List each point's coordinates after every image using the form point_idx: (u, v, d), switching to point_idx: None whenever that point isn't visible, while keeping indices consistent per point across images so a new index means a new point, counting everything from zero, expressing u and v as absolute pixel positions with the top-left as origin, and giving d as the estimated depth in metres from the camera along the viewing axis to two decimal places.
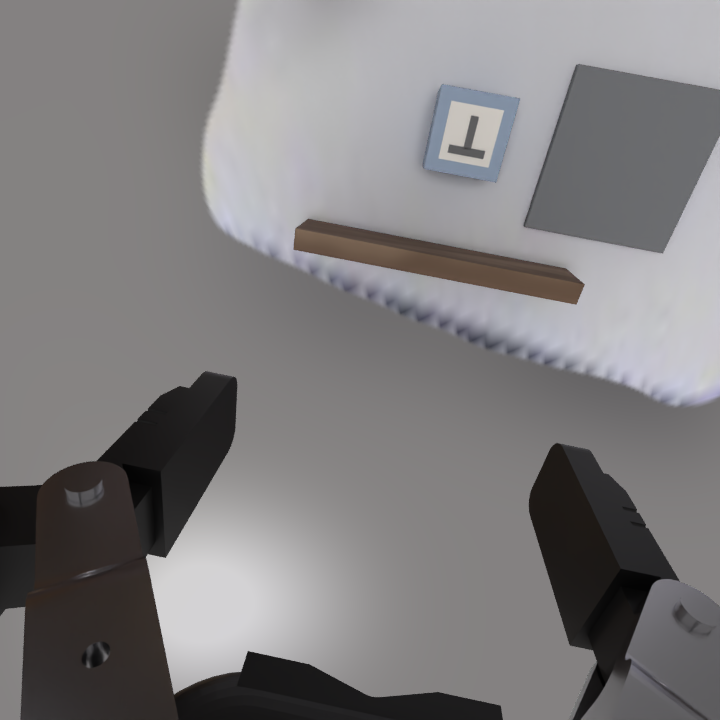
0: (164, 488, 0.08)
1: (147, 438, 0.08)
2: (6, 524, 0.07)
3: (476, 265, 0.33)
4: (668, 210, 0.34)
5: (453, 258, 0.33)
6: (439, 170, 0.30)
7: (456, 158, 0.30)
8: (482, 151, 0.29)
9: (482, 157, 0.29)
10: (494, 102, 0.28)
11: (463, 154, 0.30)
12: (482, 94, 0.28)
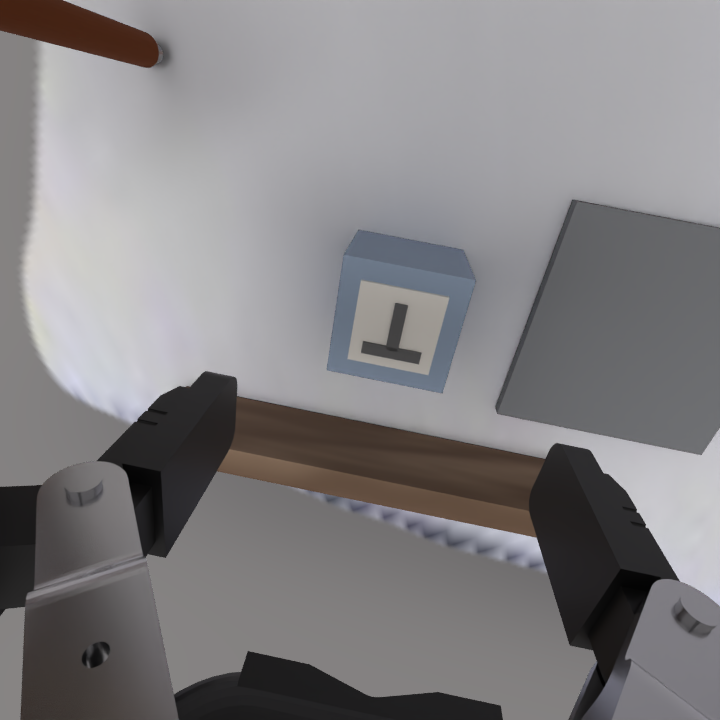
0: (164, 488, 0.08)
1: (147, 438, 0.08)
2: (6, 524, 0.07)
3: (420, 491, 0.22)
4: (712, 402, 0.22)
5: (385, 477, 0.22)
6: (351, 373, 0.19)
7: (375, 358, 0.18)
8: (416, 353, 0.18)
9: (417, 361, 0.18)
10: (433, 284, 0.17)
11: (386, 355, 0.18)
12: (412, 272, 0.17)
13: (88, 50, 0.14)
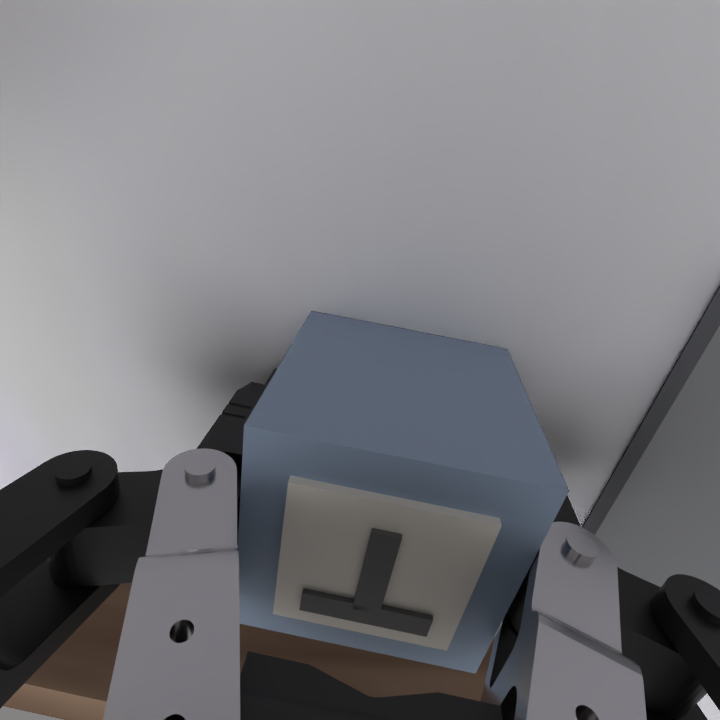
0: None
1: (241, 429, 0.09)
2: (133, 505, 0.07)
3: None
4: None
5: None
6: (285, 630, 0.09)
7: (334, 613, 0.09)
8: (422, 619, 0.08)
9: (423, 632, 0.08)
10: (462, 493, 0.07)
11: (355, 614, 0.08)
12: (413, 468, 0.07)
13: None
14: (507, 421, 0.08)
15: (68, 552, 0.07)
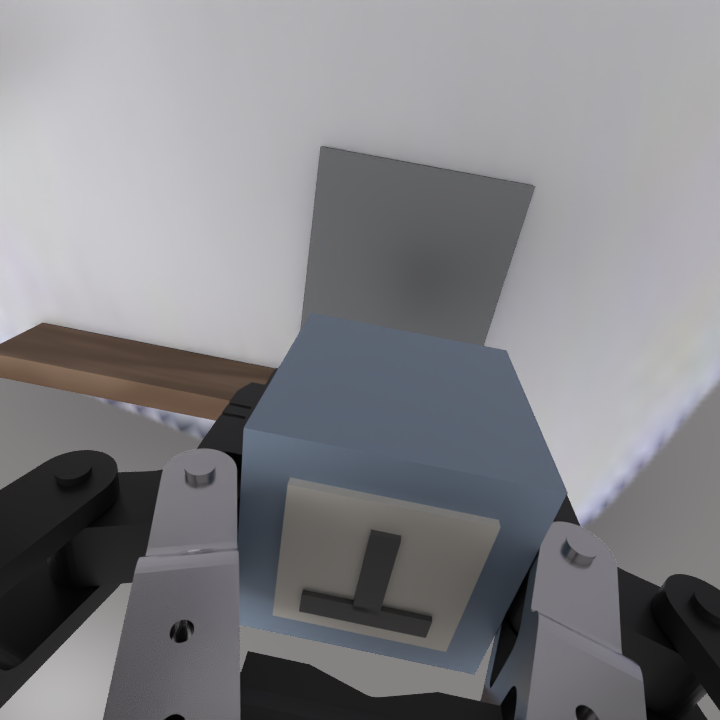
0: None
1: (241, 429, 0.09)
2: (133, 505, 0.07)
3: (218, 400, 0.25)
4: (471, 325, 0.26)
5: (189, 390, 0.26)
6: (284, 631, 0.09)
7: (334, 614, 0.09)
8: (421, 621, 0.08)
9: (422, 634, 0.08)
10: (461, 495, 0.07)
11: (354, 615, 0.08)
12: (412, 470, 0.07)
13: None
14: (506, 423, 0.08)
15: (68, 552, 0.07)
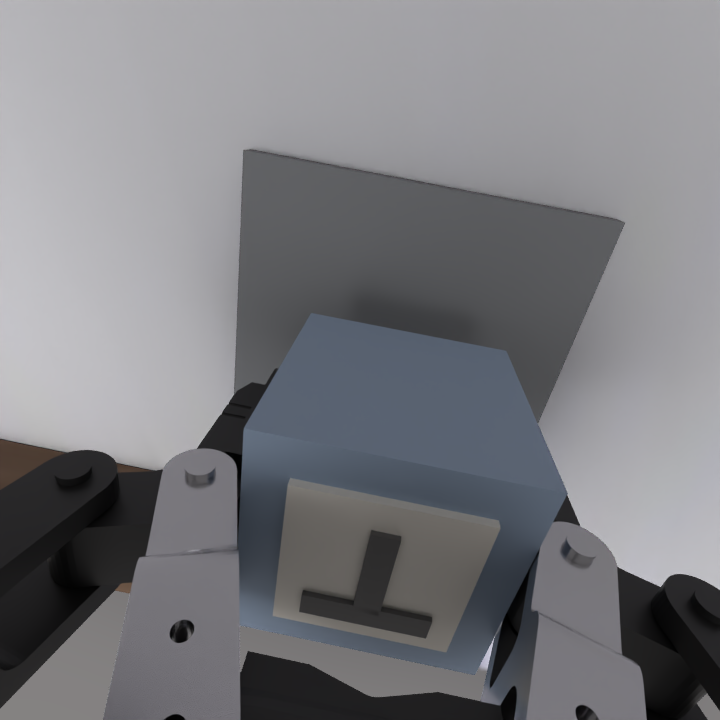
0: None
1: (241, 429, 0.09)
2: (133, 505, 0.07)
3: None
4: None
5: None
6: (284, 632, 0.09)
7: (334, 614, 0.09)
8: (421, 621, 0.08)
9: (422, 634, 0.08)
10: (461, 496, 0.07)
11: (354, 615, 0.08)
12: (412, 471, 0.07)
13: None
14: (506, 423, 0.08)
15: (68, 552, 0.07)
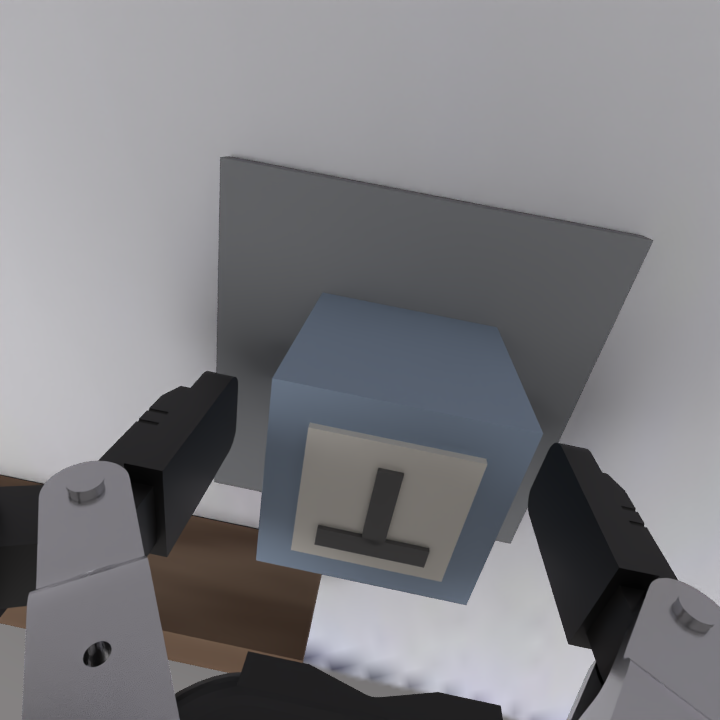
0: (165, 488, 0.08)
1: (148, 438, 0.08)
2: (8, 523, 0.07)
3: None
4: None
5: None
6: (300, 567, 0.10)
7: (343, 549, 0.10)
8: (420, 551, 0.09)
9: (420, 563, 0.09)
10: (454, 436, 0.08)
11: (362, 548, 0.10)
12: (413, 414, 0.08)
13: None
14: (494, 382, 0.09)
15: None
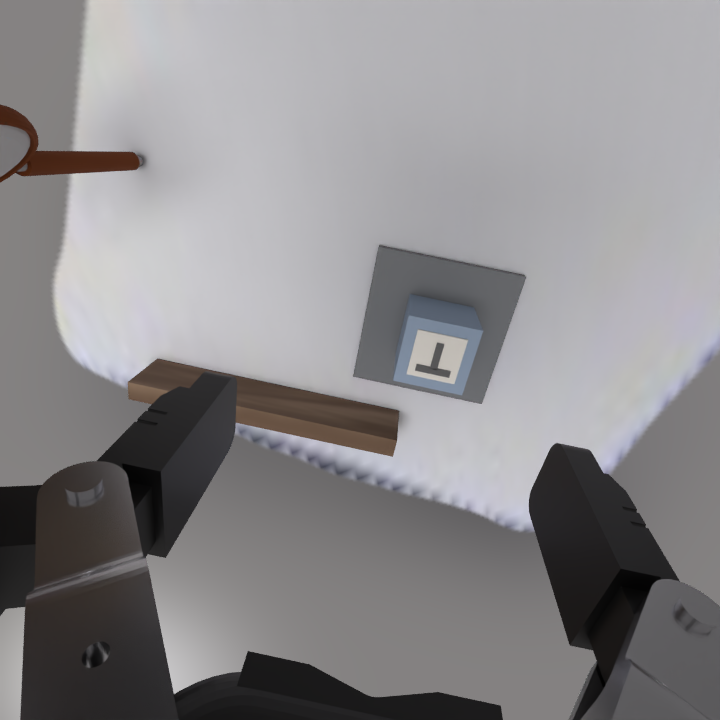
0: (164, 488, 0.08)
1: (147, 438, 0.08)
2: (6, 524, 0.07)
3: (296, 420, 0.35)
4: (480, 368, 0.36)
5: (275, 412, 0.35)
6: (407, 382, 0.31)
7: (423, 374, 0.31)
8: (448, 371, 0.30)
9: (448, 376, 0.31)
10: (458, 332, 0.29)
11: (429, 372, 0.31)
12: (447, 326, 0.29)
13: (100, 171, 0.28)
14: (471, 320, 0.31)
15: None
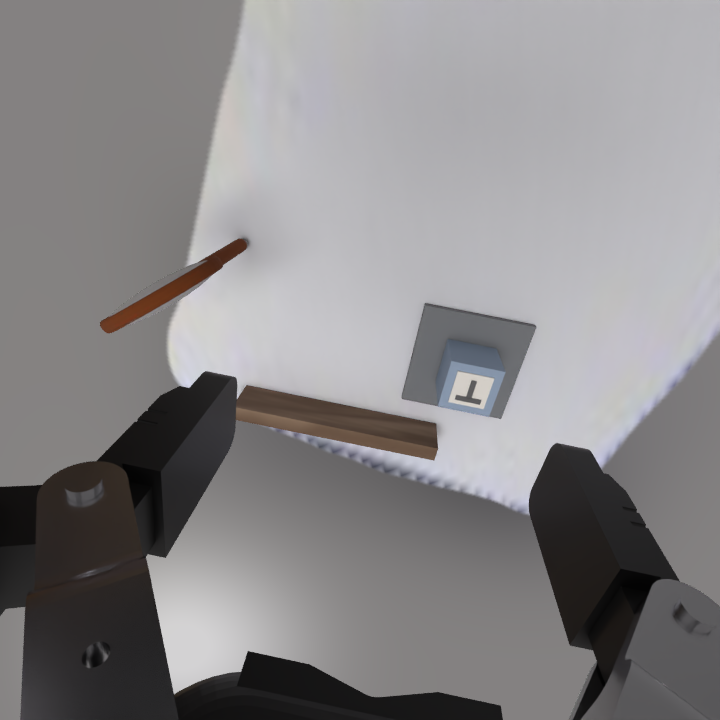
0: (164, 488, 0.08)
1: (147, 438, 0.08)
2: (6, 524, 0.07)
3: (361, 434, 0.46)
4: (500, 393, 0.47)
5: (345, 428, 0.47)
6: (448, 407, 0.43)
7: (460, 401, 0.42)
8: (479, 400, 0.42)
9: (479, 403, 0.42)
10: (487, 373, 0.40)
11: (465, 400, 0.42)
12: (479, 368, 0.40)
13: None
14: (495, 362, 0.42)
15: None
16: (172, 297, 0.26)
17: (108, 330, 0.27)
